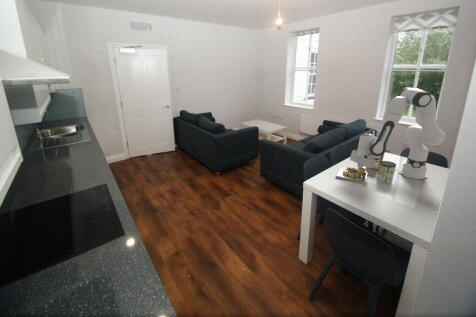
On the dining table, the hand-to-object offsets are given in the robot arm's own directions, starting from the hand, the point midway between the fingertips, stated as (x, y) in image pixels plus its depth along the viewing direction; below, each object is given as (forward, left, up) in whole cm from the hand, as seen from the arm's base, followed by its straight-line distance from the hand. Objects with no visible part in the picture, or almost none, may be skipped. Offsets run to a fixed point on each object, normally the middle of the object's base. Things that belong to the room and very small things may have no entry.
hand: (359, 169), depth 188 cm
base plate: (+8, -4, -4) cm, 10 cm away
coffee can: (+3, +18, -4) cm, 19 cm away
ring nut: (+7, -2, -2) cm, 7 cm away
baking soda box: (-18, +9, -4) cm, 20 cm away
